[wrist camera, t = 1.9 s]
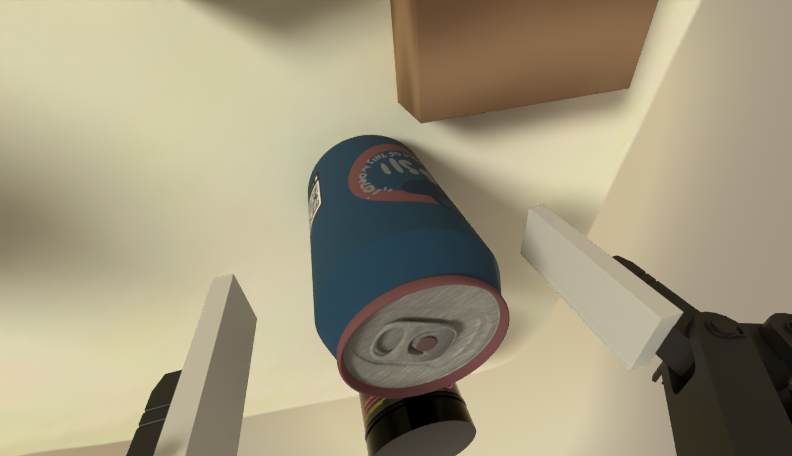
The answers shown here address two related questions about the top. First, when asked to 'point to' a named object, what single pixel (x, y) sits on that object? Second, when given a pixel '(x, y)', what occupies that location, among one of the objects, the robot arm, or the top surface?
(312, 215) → the soda can
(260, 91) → the top surface
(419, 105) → the walnut slab
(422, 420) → the supplement container
